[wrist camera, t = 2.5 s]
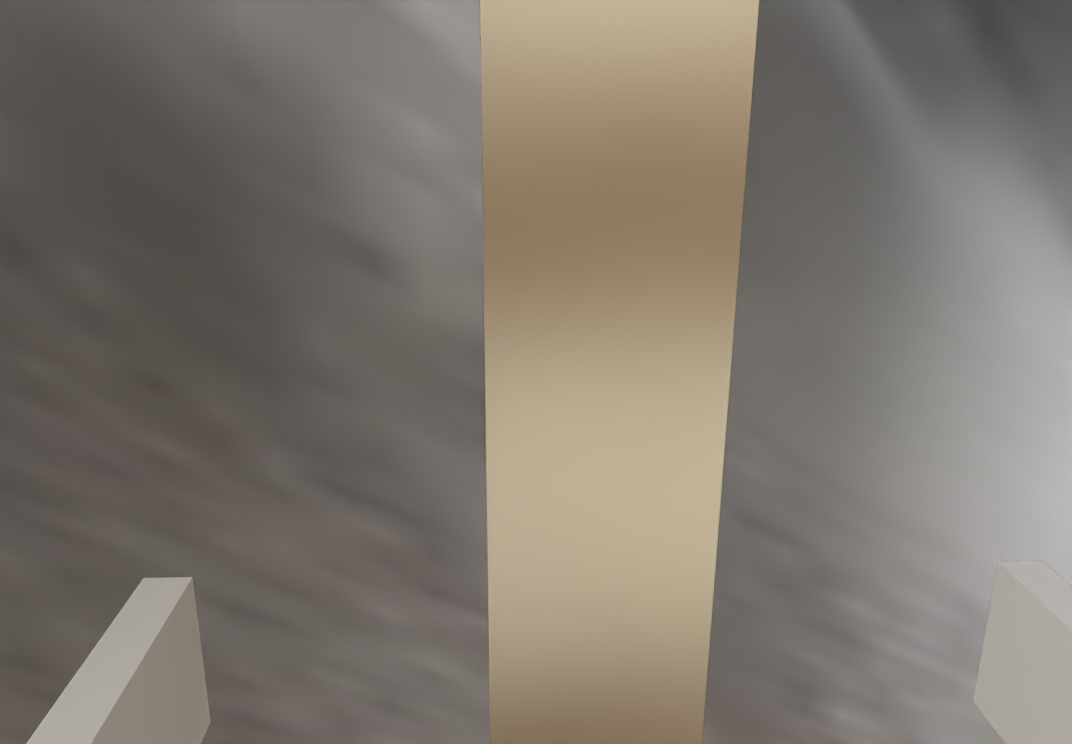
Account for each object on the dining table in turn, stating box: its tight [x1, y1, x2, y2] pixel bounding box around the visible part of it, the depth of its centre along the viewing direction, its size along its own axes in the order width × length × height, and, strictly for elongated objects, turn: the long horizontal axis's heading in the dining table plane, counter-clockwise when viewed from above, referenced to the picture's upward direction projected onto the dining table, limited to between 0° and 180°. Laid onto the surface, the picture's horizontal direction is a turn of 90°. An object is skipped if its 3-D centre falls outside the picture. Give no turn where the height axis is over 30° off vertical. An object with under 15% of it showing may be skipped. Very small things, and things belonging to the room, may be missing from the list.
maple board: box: [480, 0, 759, 744], centre depth 16 cm, size 18×3×12 cm, turn 0°
